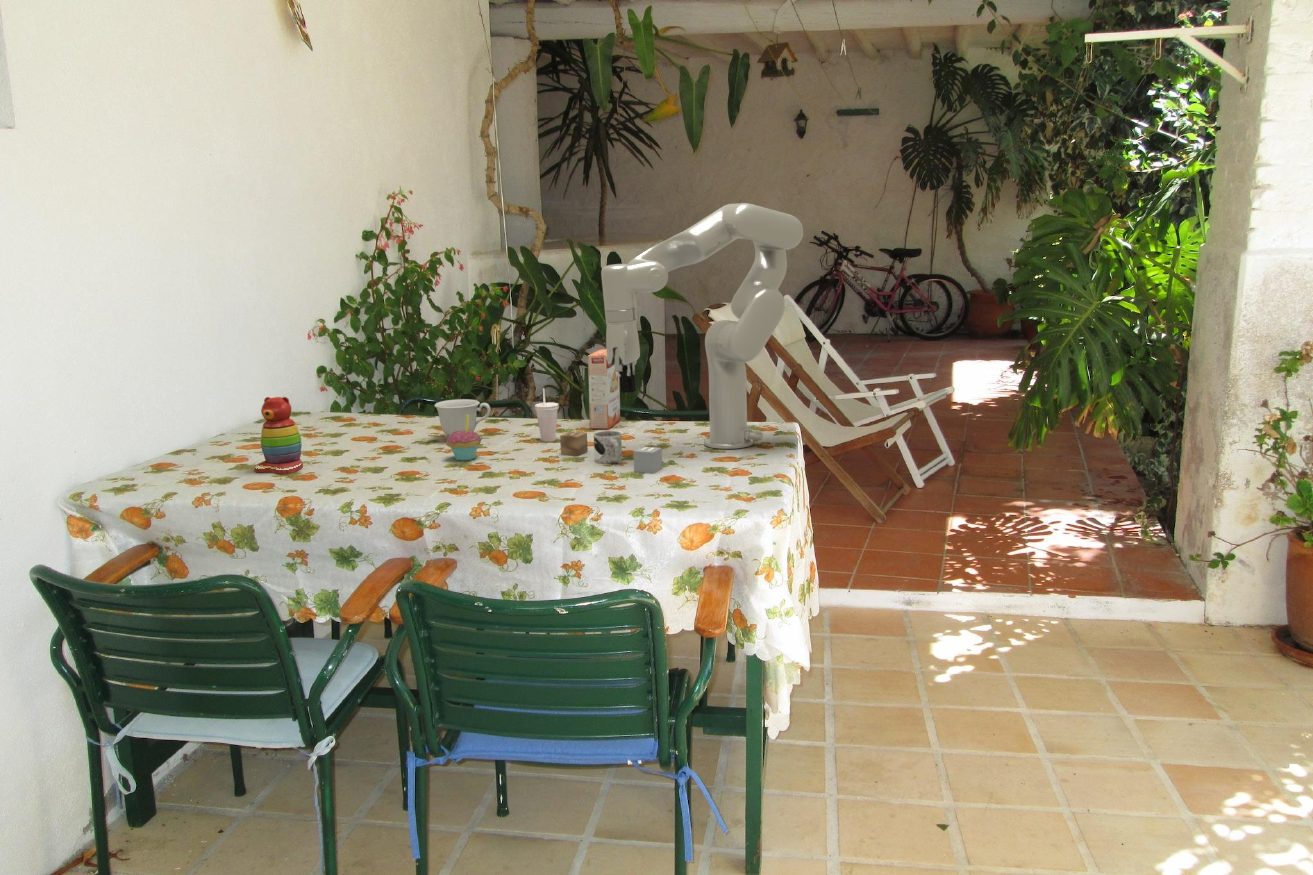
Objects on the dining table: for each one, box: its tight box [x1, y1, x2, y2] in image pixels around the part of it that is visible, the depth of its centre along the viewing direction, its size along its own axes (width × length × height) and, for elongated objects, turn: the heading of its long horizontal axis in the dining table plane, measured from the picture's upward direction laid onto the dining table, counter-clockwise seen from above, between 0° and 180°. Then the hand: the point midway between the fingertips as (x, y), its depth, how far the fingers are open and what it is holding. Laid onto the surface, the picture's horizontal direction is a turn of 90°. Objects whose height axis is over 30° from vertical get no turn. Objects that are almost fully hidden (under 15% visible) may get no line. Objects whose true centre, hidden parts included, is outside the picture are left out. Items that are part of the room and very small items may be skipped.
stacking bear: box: [253, 396, 304, 475], centre depth 255 cm, size 11×10×18 cm
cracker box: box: [587, 348, 621, 430], centre depth 297 cm, size 14×6×21 cm, turn 168°
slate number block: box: [632, 446, 663, 474], centre depth 244 cm, size 5×5×5 cm
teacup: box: [434, 398, 492, 437], centre depth 284 cm, size 12×15×10 cm
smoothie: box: [534, 387, 560, 443], centre depth 279 cm, size 6×6×14 cm
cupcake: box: [445, 412, 482, 461], centre depth 261 cm, size 9×8×12 cm
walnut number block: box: [559, 431, 589, 457], centre depth 264 cm, size 5×5×5 cm
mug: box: [593, 430, 623, 465], centre depth 253 cm, size 10×7×7 cm, turn 23°
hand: (628, 391), depth 256 cm, fingers closed
